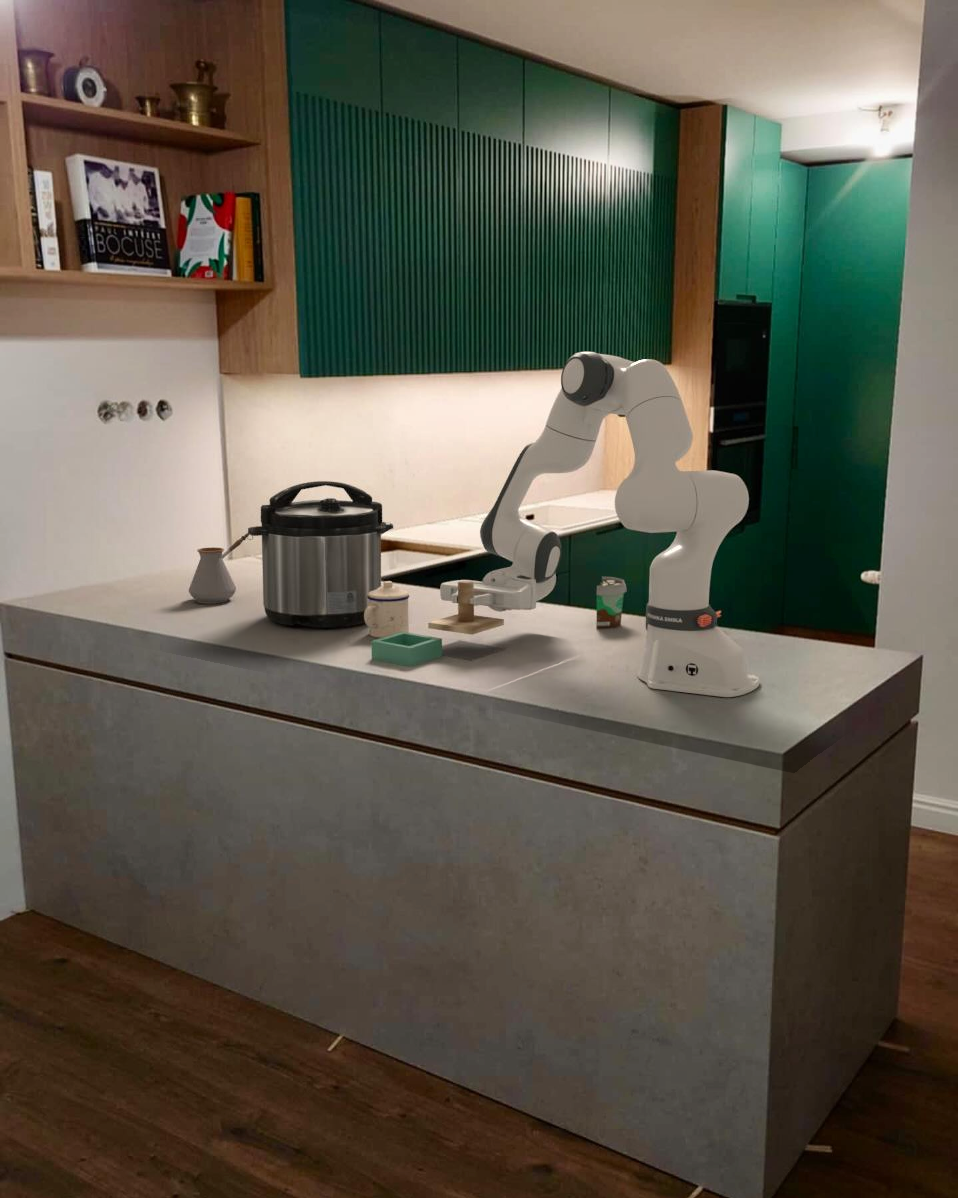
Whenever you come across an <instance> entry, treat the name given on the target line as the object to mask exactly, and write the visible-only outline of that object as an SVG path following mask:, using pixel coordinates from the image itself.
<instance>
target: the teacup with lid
mask: <svg viewBox="0 0 958 1198" xmlns="http://www.w3.org/2000/svg"><path fill="white" fill-rule="evenodd" d="M367 598H368V602H369V606H368V607H367V608H366V610H365V612H364V620H365V622H364V623H365V626H367V627H368V634H369V635H370V636H371V637H374V638H377V639H380V638H384V637H387V636H391V635H394V634H397V633H401V632H408V633H410V631H409V627H410V626H409V598H410V595H409V593H408V591H406V590H404V589H401V588H399V587H398V586H396V585H394V583H393V582H392V581H391V580H387V581H383V585H381V587H379V588H378V589H376V590H373V591H371V592H369V593H368V596H367Z"/></svg>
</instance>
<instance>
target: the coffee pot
mask: <svg viewBox="0 0 958 1198" xmlns="http://www.w3.org/2000/svg"><path fill="white" fill-rule="evenodd" d="M249 535H250V534H249V533H248V532H247V533H245V534H244V535H242V536H241V538H239V539H237V540H236V541H235V542H234V543H233V544H232V545H231V546H230V547H229V548H228V549H227V550H226V551H225V549H224V548H223V547H202V548H198V549H197V553H199V554H198V555H199V556H200V559H199V561H198V564H197V567H196V569H195V572H194V575H193V577H192V580H191V583H190V584H189V585H190V586H189V587H188V592H189V594H190V596H191V597H192V598H193V599H194V600H196V602H197V603H200V604H205V605H206V604H209V605H210V604H221V603H225V602H229V601H230V598H232V597H233V596H234V595H235V593H236V591H237V587H236V585H235V582H234V580H233V578H232V576H231V574H230V572H229V570H228V568H227V566H226V564H225V562H224V558H226V556H228V555H229V554H230V553H231V552H232V551H233V550H235V549H236V548H238V547H239V546H241V544H242V543H243V541H246V540H249V541H253V539H254V536H252V535H250V536H251V537H252V538H249ZM224 551H225V552H224Z"/></svg>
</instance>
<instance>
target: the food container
mask: <svg viewBox="0 0 958 1198" xmlns="http://www.w3.org/2000/svg"><path fill="white" fill-rule="evenodd" d="M627 590H628V589H627V584H626V583H625V580H624V579H622V578H618V577H614V576H601V582H600V583H599V585H597V586H596V622H595V623H596V627H595V628H596V630H609V629H610V630H611V629H616V628H619V627H621V624H622V614H623V604H624V595H625V593H626V592H628V591H627Z"/></svg>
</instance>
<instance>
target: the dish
mask: <svg viewBox="0 0 958 1198" xmlns="http://www.w3.org/2000/svg"><path fill="white" fill-rule="evenodd" d="M370 643H371V659H372V660H375V661H381V662H386V663H391V664H396V665H401V666H405V667H413V666H416V665H420V664H422V663H425V662H429V661H431V660H434V659H439V658H441V657H443V655H442V646H443V638H441V637H436V636H429V635H426V634H425V635H424V634H419V633H413V632H401V633H397V634H394V635H391V636H387V637H384V638H377V639H374V640H371V642H370Z"/></svg>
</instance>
